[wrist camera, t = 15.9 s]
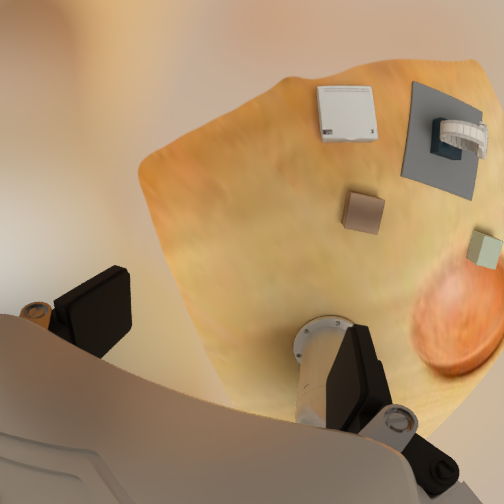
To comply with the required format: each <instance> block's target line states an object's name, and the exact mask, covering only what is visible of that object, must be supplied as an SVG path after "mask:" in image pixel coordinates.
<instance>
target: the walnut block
mask: <svg viewBox="0 0 504 504" xmlns="http://www.w3.org/2000/svg"><path fill="white" fill-rule="evenodd" d="M384 204H385V200H383V199H381V198H378V197H374V196H370V195H365V194H361V193H357V192H352V191H347V196H346V202H345V207H344V212H343V217H342V222H341V223H342V225H343V226H344V228H347V229H352V230H357V231H361V232H366V233H371V234H375V235H378V231H379V227H380V222H381V218H382V213H383V208H384Z"/></svg>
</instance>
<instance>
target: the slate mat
mask: <svg viewBox="0 0 504 504" xmlns="http://www.w3.org/2000/svg"><path fill="white" fill-rule="evenodd" d="M439 117H442V118H445V119H447V120H459V121H465V122H469V123H472V124H475V125H478V124H480V121H482V112H481V111H479V110H478V109H476V108H474V107H472V106H470V105H468V104H466V103H464V102H462V101H460V100H458V99H456V98H453V97H451V96H449V95H447V94H445V93H442V92H440V91H438V90H435V89H433V88H430V87H428V86H425V85H423V84H420V83H418V82H415V81H413V82H412V96H411V107H410V117H409V125H408V133H407V141H406V147H405V154H404V160H403V166H402V171H401V176H402V177H405V178H409V179H412V180H415V181H418V182H421V183H424V184H427V185H430V186H433V187H436V188H439V189H441V190H444V191H447V192H450V193H452V194H455V195H458V196H460V197H463V198H465V199H468V200H470V201H472V196H473V191H474V186H475V180H476V174H477V167H478V159H479V158H478V157H476V153H475V152H471V151H469V150H468V151H467V150H464V149H462V157H461V160H450V159H447V158H444V157H441V156H438V155H435V154H431V153H430V149H431V137H432V122H433V120H434V119H437V118H439ZM463 132H464V128H463Z"/></svg>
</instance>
